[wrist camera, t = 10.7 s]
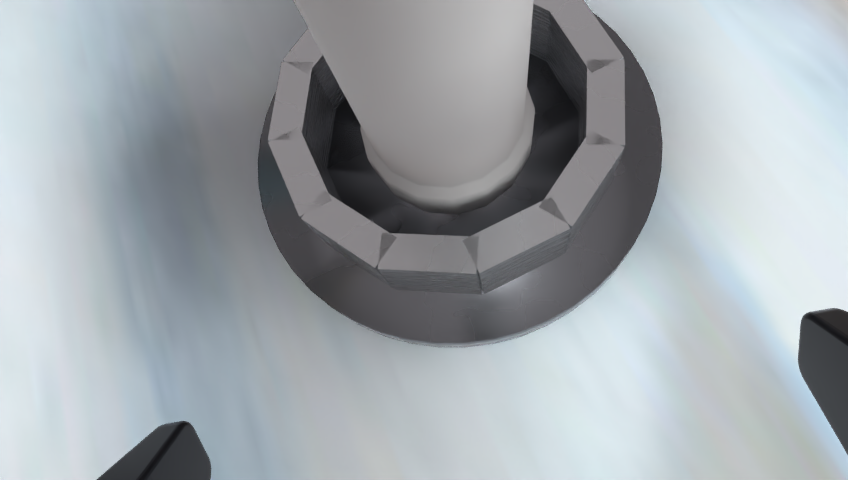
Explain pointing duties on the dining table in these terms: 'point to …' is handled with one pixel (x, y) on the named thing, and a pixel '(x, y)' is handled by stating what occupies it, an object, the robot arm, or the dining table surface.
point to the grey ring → (478, 229)
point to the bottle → (434, 92)
